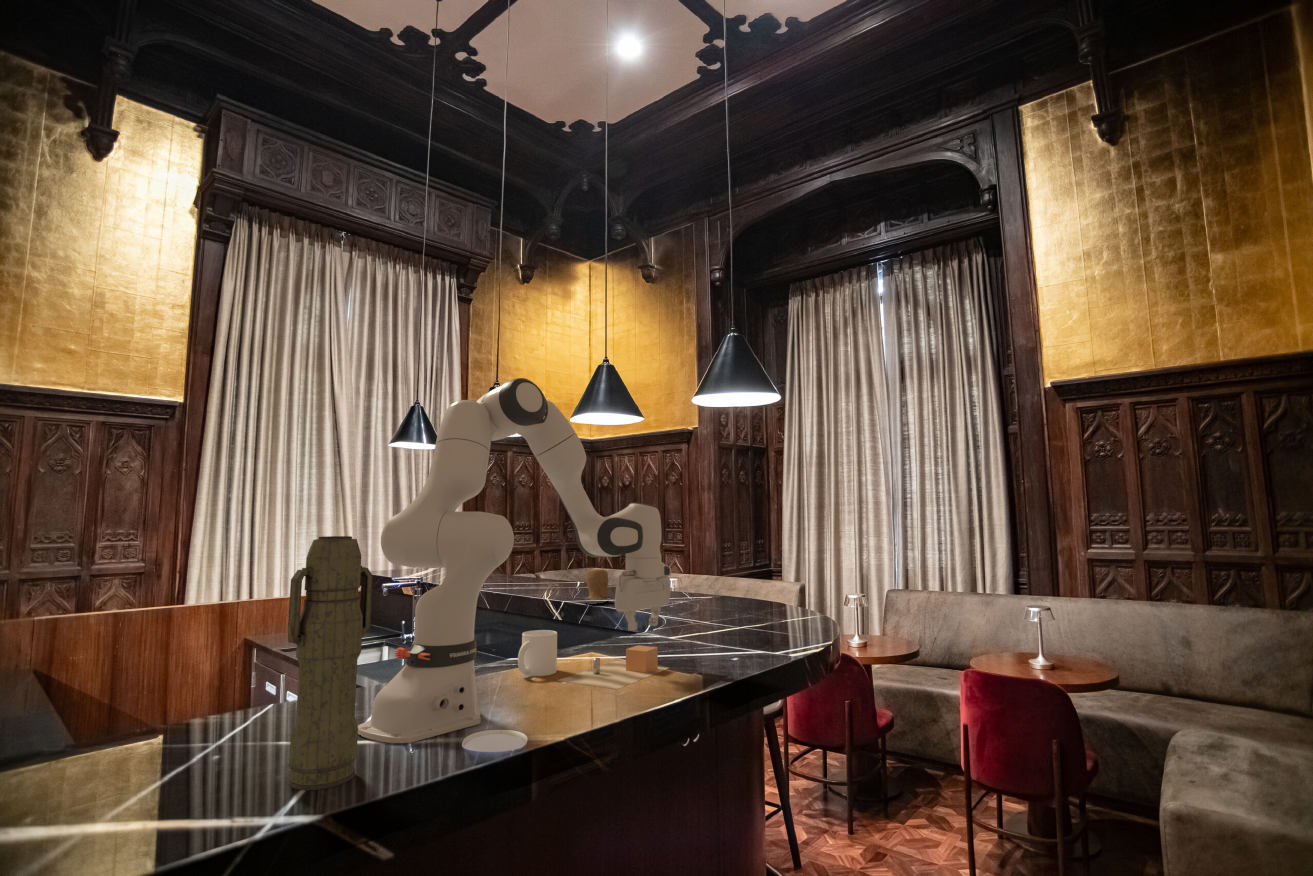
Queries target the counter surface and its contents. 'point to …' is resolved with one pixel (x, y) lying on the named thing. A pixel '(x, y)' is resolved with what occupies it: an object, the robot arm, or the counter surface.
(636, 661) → the tan wooden cube
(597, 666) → the pins
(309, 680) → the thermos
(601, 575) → the stone cup
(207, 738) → the counter surface
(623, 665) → the board
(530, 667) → the mug
